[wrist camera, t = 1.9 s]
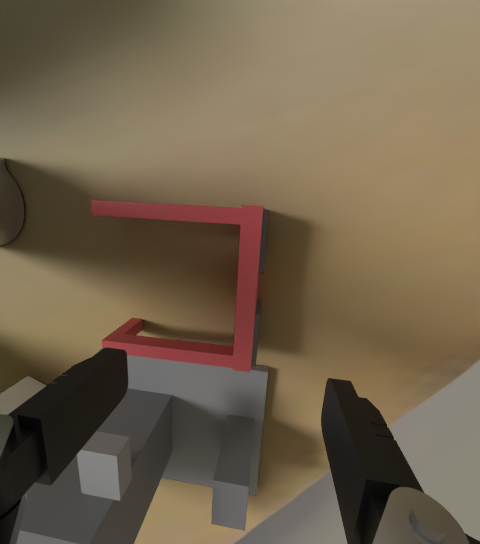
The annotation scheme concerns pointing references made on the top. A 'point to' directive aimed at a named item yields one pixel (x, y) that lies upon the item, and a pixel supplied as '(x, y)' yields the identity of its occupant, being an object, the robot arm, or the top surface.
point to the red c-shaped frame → (247, 286)
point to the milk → (19, 394)
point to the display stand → (157, 454)
